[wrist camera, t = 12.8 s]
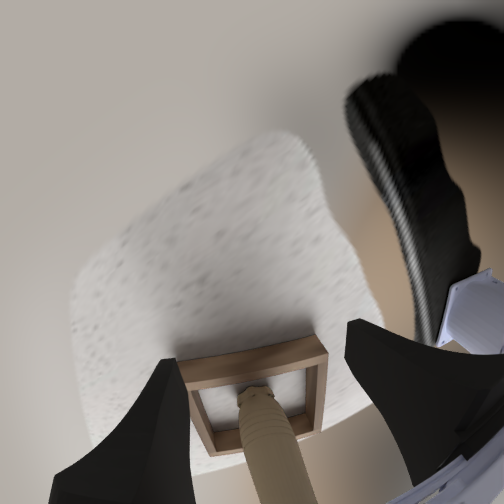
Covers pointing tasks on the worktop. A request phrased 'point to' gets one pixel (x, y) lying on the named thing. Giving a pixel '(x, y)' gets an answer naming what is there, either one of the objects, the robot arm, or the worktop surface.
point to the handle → (272, 450)
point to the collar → (253, 368)
